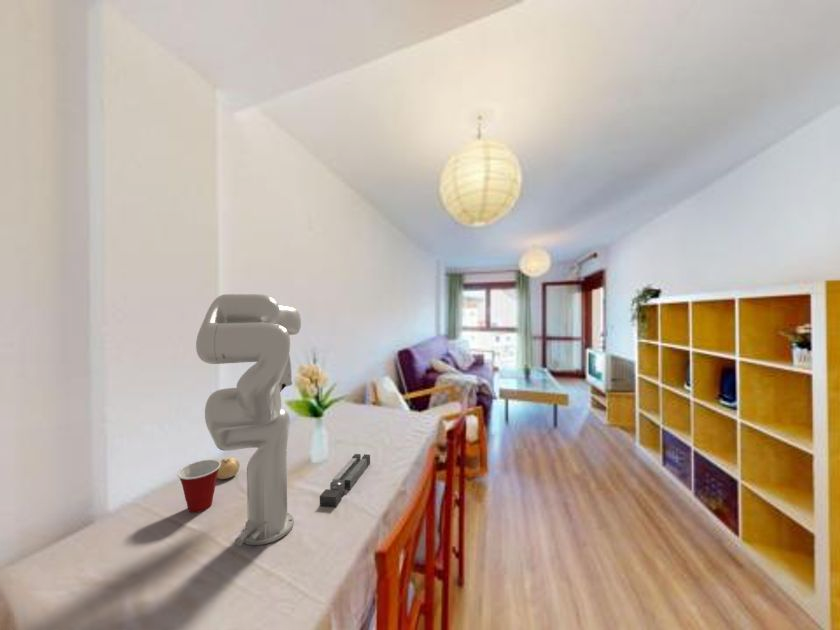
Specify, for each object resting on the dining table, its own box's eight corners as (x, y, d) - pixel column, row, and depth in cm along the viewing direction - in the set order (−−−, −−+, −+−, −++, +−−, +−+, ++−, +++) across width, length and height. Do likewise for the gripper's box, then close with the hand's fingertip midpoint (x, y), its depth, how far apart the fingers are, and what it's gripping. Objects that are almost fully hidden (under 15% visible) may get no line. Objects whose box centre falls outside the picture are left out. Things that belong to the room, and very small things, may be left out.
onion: (208, 479, 115) (208, 459, 115) (230, 470, 122) (230, 451, 122) (223, 483, 112) (223, 463, 112) (244, 474, 119) (244, 454, 119)
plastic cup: (172, 522, 90) (171, 478, 90) (183, 502, 100) (183, 463, 100) (217, 513, 94) (217, 470, 94) (224, 494, 104) (224, 456, 104)
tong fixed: (337, 507, 95) (337, 495, 95) (319, 506, 96) (319, 494, 96) (370, 463, 125) (370, 454, 125) (356, 462, 126) (356, 454, 126)
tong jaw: (341, 498, 100) (341, 486, 100) (325, 497, 101) (324, 485, 101) (368, 463, 125) (368, 454, 125) (355, 462, 126) (355, 453, 126)
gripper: (249, 351, 104) (250, 410, 103) (299, 349, 110) (300, 403, 110) (249, 350, 110) (250, 404, 110) (296, 347, 117) (297, 399, 117)
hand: (275, 404), depth 110 cm, fingers closed
